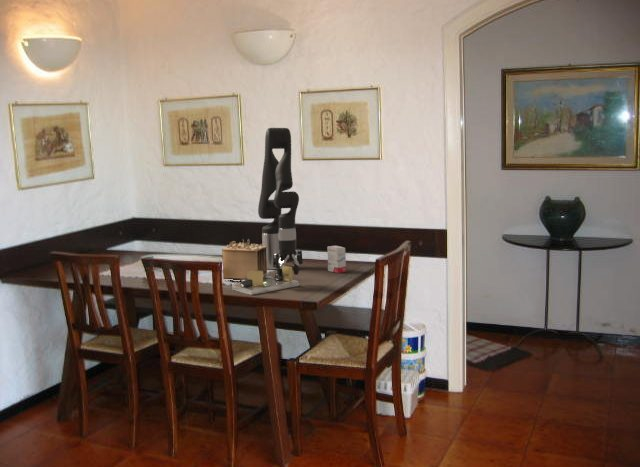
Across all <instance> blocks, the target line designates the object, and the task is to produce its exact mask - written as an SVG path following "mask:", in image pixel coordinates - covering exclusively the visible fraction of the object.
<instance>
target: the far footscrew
mask: <svg viewBox="0 0 640 467" xmlns="http://www.w3.org/2000/svg"><path fill="white" fill-rule="evenodd" d="M282 274H283V277H281V278H280V277H278V275H277V272H275V273H274V277H275V280H284V281H289V282H290V281H292V280H293V267H292V266H287V265H285V264H284V265H283V267H282Z"/></svg>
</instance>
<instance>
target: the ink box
mask: <svg viewBox="0 0 640 467" xmlns="http://www.w3.org/2000/svg"><path fill="white" fill-rule="evenodd" d="M326 248H327V251H326V252H327V270H328V272H332V273H336V274H341V273H346V272H347V260H346V247H343V246H339V245H331V246H329V245H328V246H327V247H326Z"/></svg>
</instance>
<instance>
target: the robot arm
mask: <svg viewBox="0 0 640 467" xmlns="http://www.w3.org/2000/svg"><path fill="white" fill-rule="evenodd" d="M275 149H276V150H281V149H282V150H283V154H282V157H281V158H280V160H278V159H277V157H276V156H275V154H274V152H273V150H275ZM293 185H294V184H293V175H292V134H291V130H290V129H289V128H288V127H269V128H267V129H266V132H265V137H264V159H263V168H262V176H261V188H260V196H259V202H258V208H257V212H258V213H257V214H258V216H259V218H260V219H262V220H271V219H272V220H273V221H272V222H270V223H269V224H267V225H264V226H262V228H261V240H262V243H261V244H262V246H267V270H276V271H277V272H276V273H277V275H278V277H280V278H281V277H283V274H282V267H283V265H284V266H285V265H286V263H287V264H288V263H292V264H293V274H294V275H296V276H298V275H299V272H300V265H302V264H303V251H302V250H300V249H297V231H296V215H297V214H296V213H297V210H298V205H299V202H300V197H299V194H298V193H297V192H296V191H288V190H290V189H292V188H293ZM273 194H274V198H273V199H270V197H271V196H272V195H273ZM282 209H289V211H288V212H285V213H282Z"/></svg>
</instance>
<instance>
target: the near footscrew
mask: <svg viewBox="0 0 640 467" xmlns="http://www.w3.org/2000/svg"><path fill="white" fill-rule="evenodd" d="M247 277H248V278H244V279H241V282H240V283H241V286H245V287H247V286H257V285H263V270H260V271H247Z"/></svg>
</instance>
